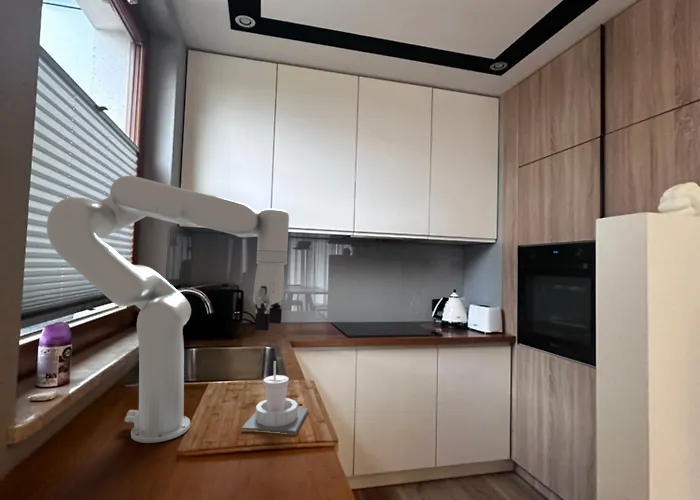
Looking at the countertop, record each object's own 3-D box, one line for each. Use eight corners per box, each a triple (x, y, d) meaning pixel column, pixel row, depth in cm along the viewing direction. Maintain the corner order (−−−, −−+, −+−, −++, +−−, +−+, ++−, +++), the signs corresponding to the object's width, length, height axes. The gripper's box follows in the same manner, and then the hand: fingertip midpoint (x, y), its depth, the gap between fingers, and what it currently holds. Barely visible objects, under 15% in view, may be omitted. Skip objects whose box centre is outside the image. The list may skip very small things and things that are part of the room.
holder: (241, 431, 90) (241, 414, 90) (260, 409, 103) (261, 394, 103) (295, 435, 88) (295, 417, 88) (308, 412, 101) (308, 396, 101)
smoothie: (277, 410, 100) (277, 356, 100) (294, 416, 96) (294, 361, 96) (257, 418, 95) (257, 362, 95) (274, 425, 91) (274, 367, 91)
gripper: (269, 257, 105) (266, 319, 105) (244, 257, 88) (240, 332, 88) (295, 259, 104) (292, 321, 104) (275, 259, 87) (271, 334, 87)
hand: (268, 326), depth 96 cm, fingers open, 9 cm apart
